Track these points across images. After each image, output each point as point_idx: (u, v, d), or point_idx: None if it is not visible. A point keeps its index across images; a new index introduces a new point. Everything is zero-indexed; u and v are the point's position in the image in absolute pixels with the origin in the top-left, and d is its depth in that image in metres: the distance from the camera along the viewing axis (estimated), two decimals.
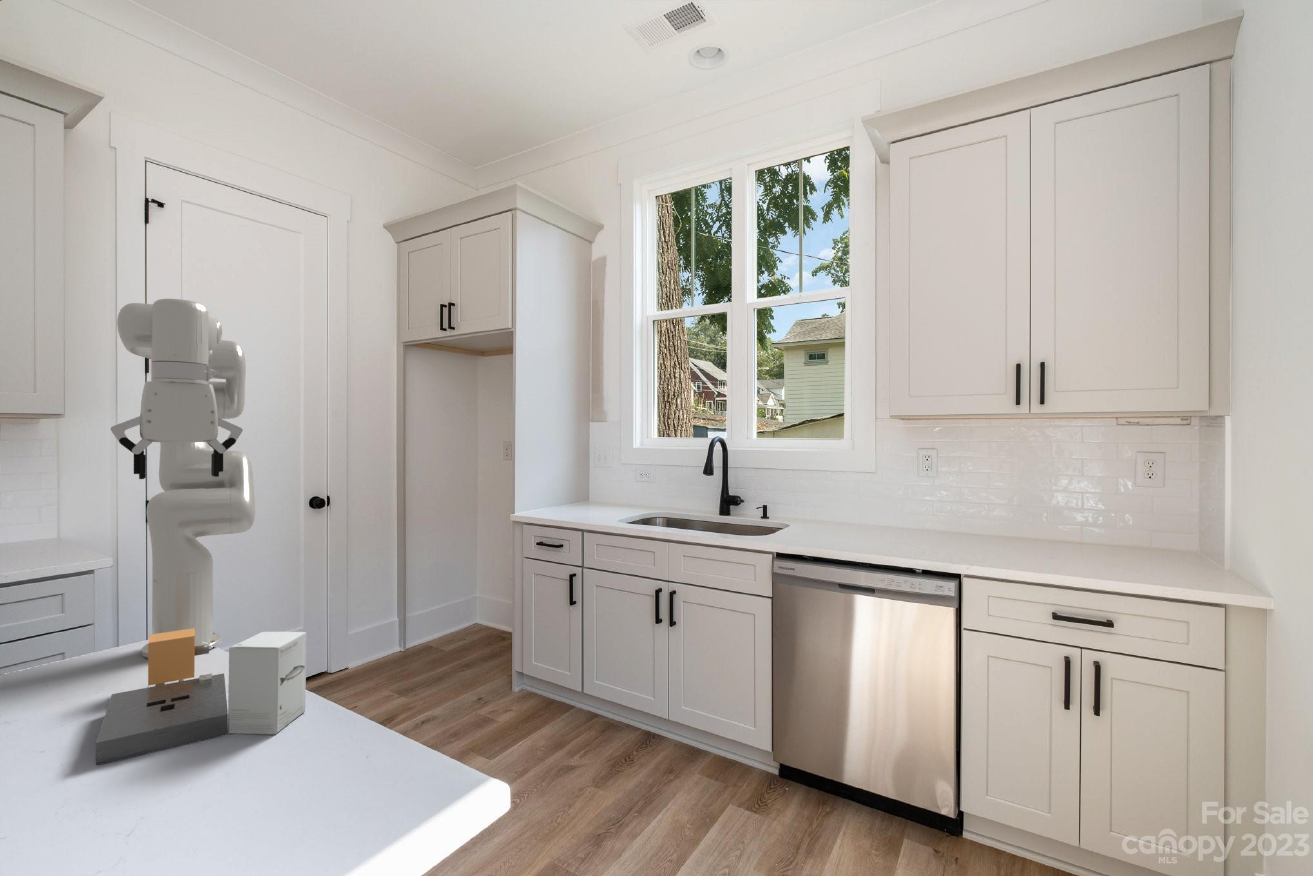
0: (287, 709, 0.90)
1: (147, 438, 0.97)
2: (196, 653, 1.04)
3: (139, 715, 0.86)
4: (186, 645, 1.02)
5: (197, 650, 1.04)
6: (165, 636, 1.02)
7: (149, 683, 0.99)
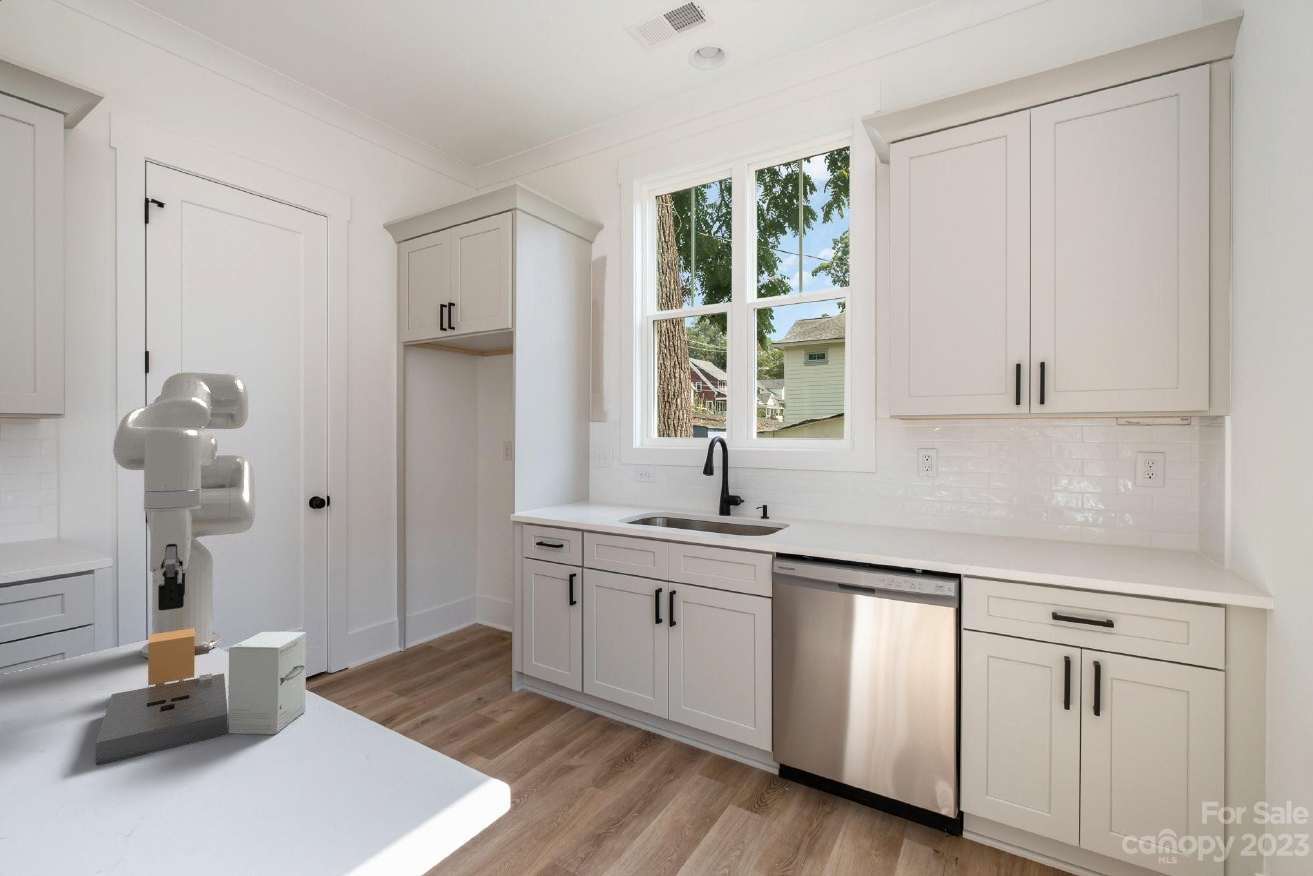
0: (287, 709, 0.90)
1: (185, 566, 1.00)
2: (196, 653, 1.04)
3: (139, 715, 0.86)
4: (186, 645, 1.02)
5: (197, 650, 1.04)
6: (165, 636, 1.02)
7: (149, 683, 0.99)
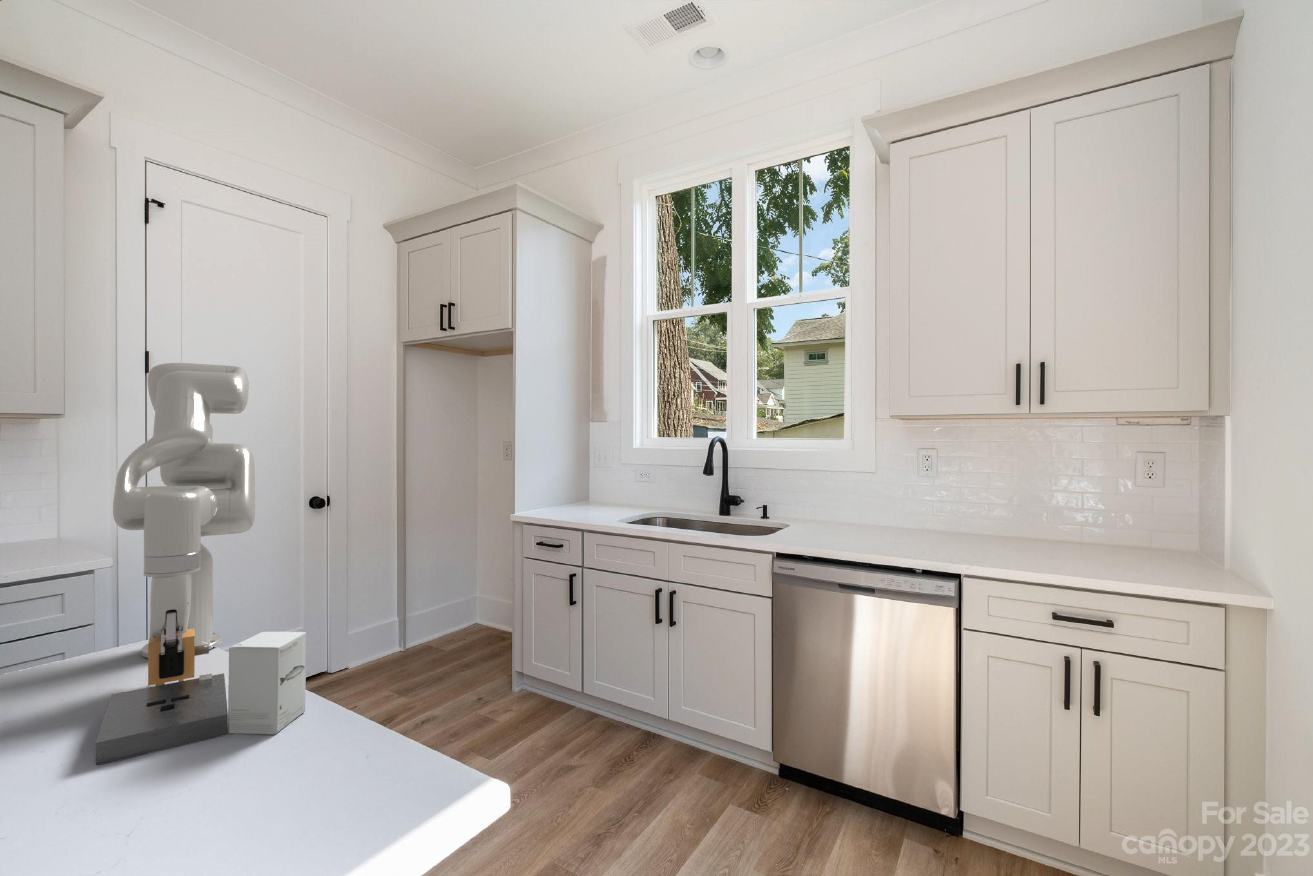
0: (287, 709, 0.90)
1: (185, 630, 1.01)
2: (196, 653, 1.04)
3: (139, 715, 0.86)
4: (186, 645, 1.02)
5: (197, 650, 1.04)
6: None
7: (149, 683, 0.99)
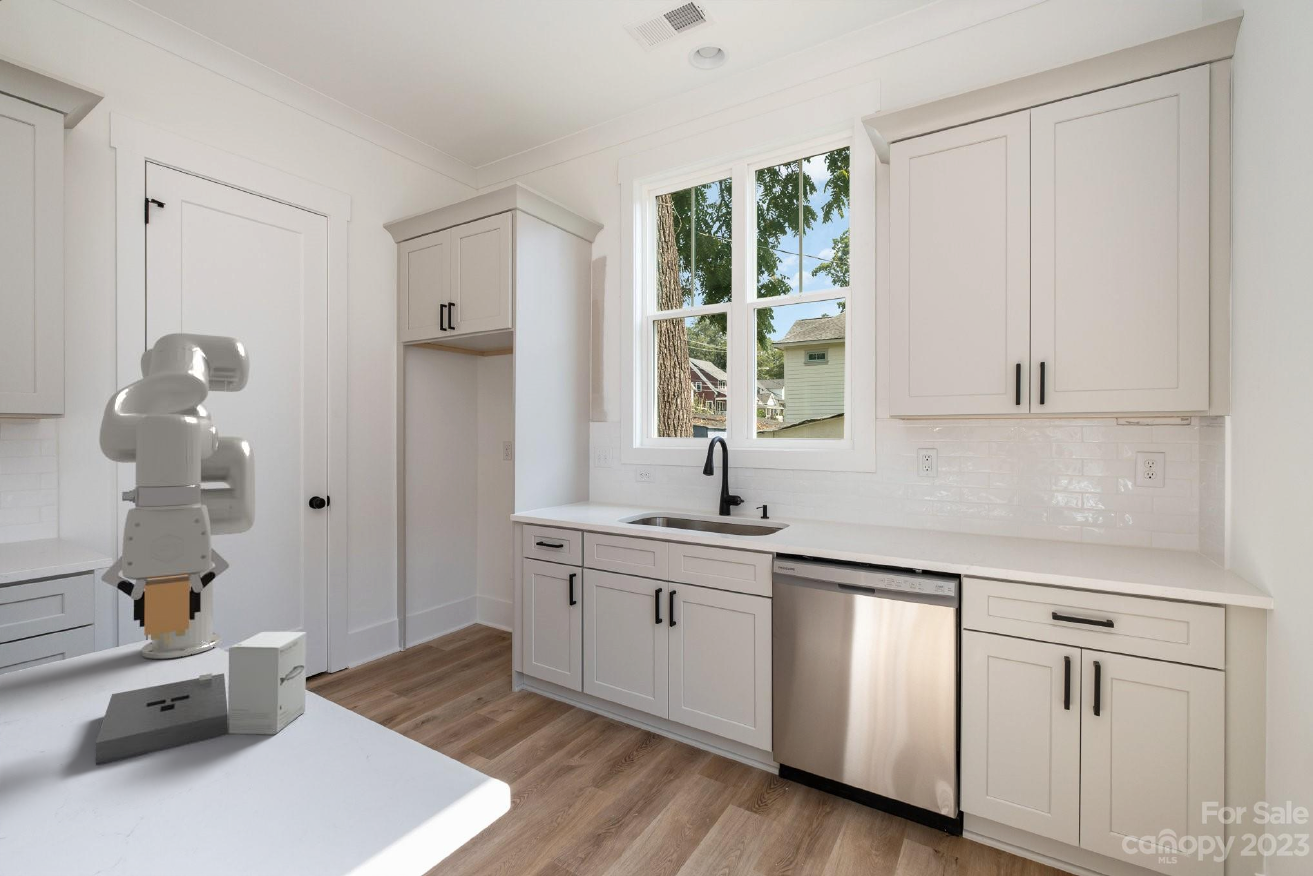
0: (287, 709, 0.90)
1: None
2: None
3: (139, 715, 0.86)
4: None
5: None
6: (169, 580, 0.89)
7: None
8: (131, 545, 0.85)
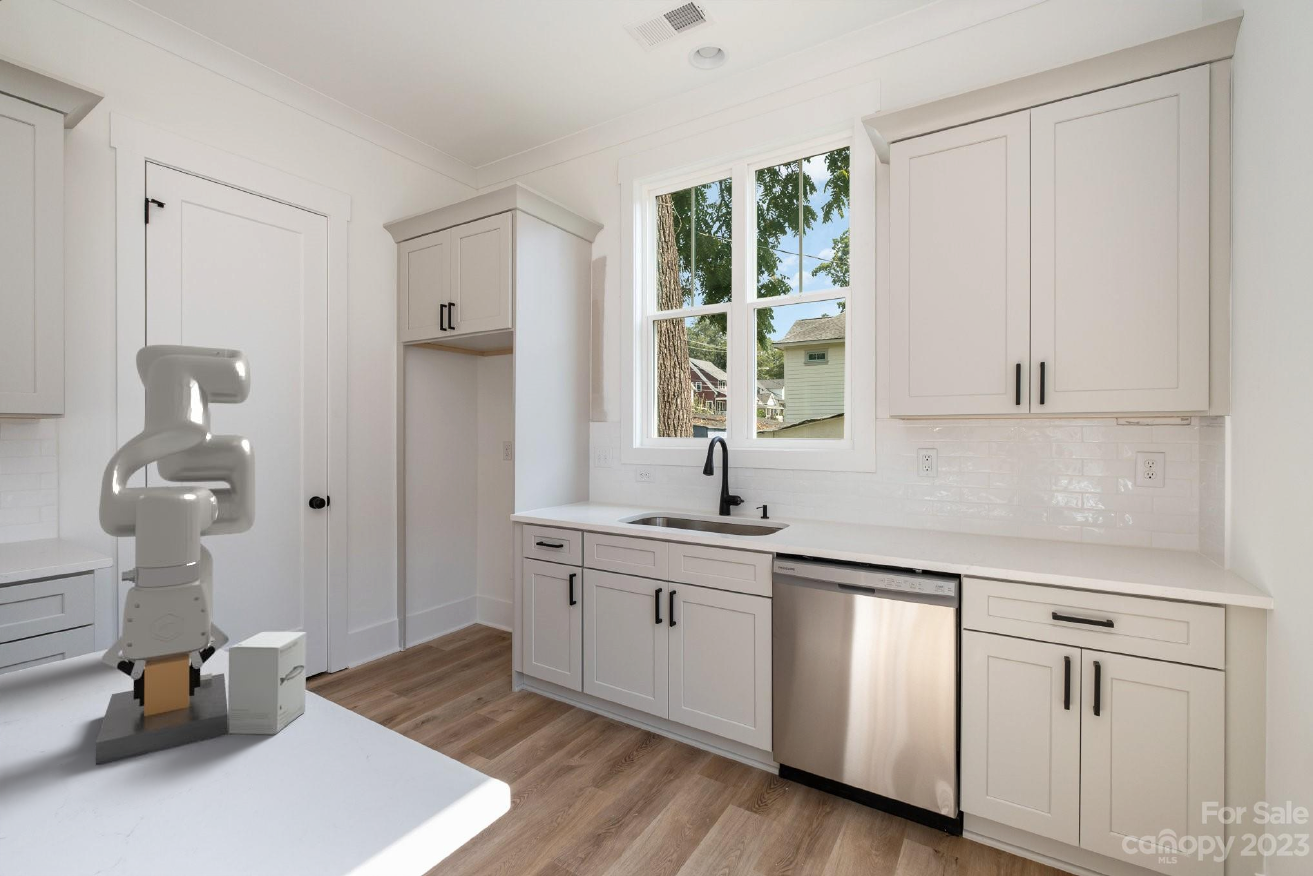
0: (287, 709, 0.90)
1: None
2: None
3: (139, 715, 0.86)
4: None
5: None
6: (169, 658, 0.89)
7: (188, 704, 0.89)
8: (131, 627, 0.85)
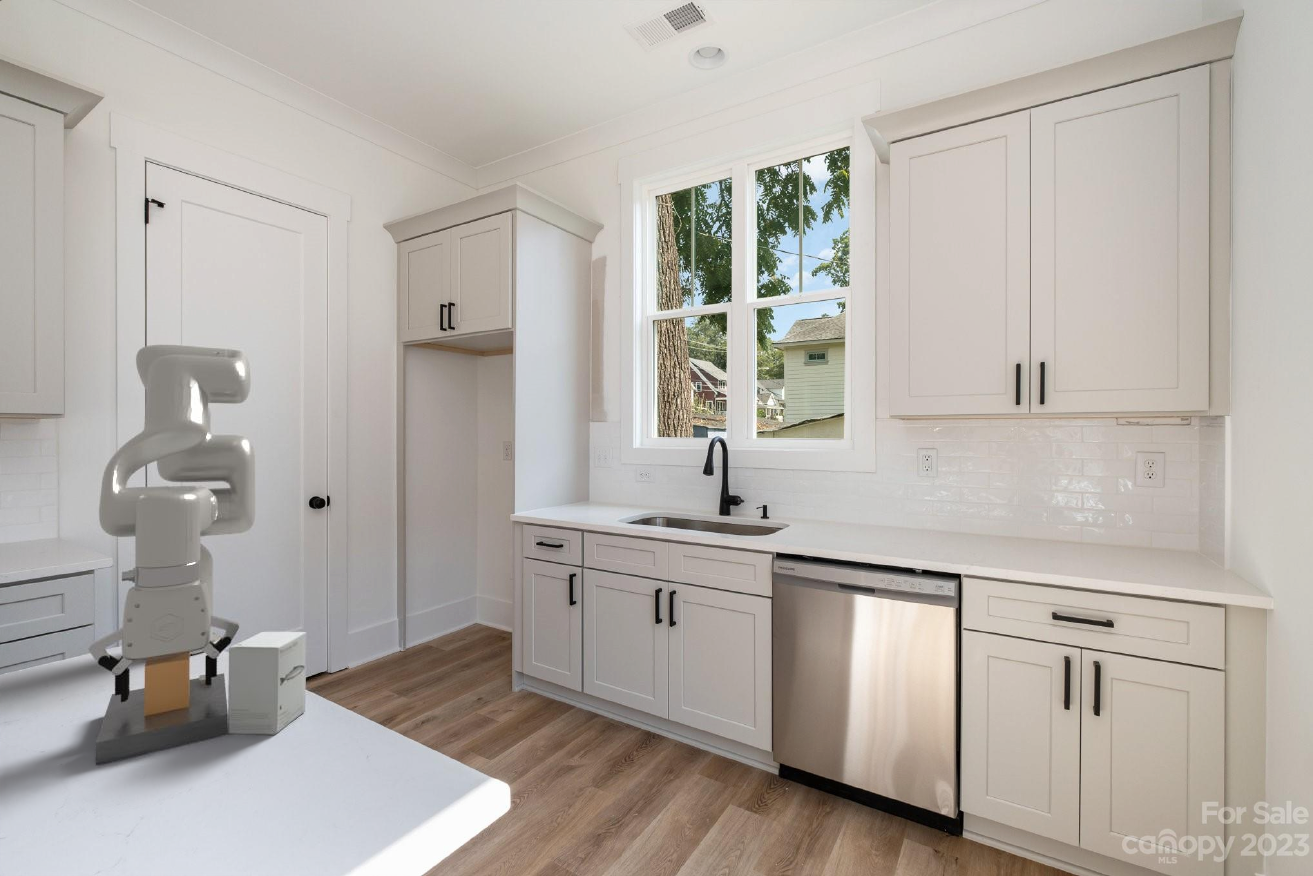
0: (287, 709, 0.90)
1: None
2: None
3: (139, 715, 0.86)
4: None
5: None
6: (169, 658, 0.89)
7: (188, 704, 0.89)
8: (131, 626, 0.86)
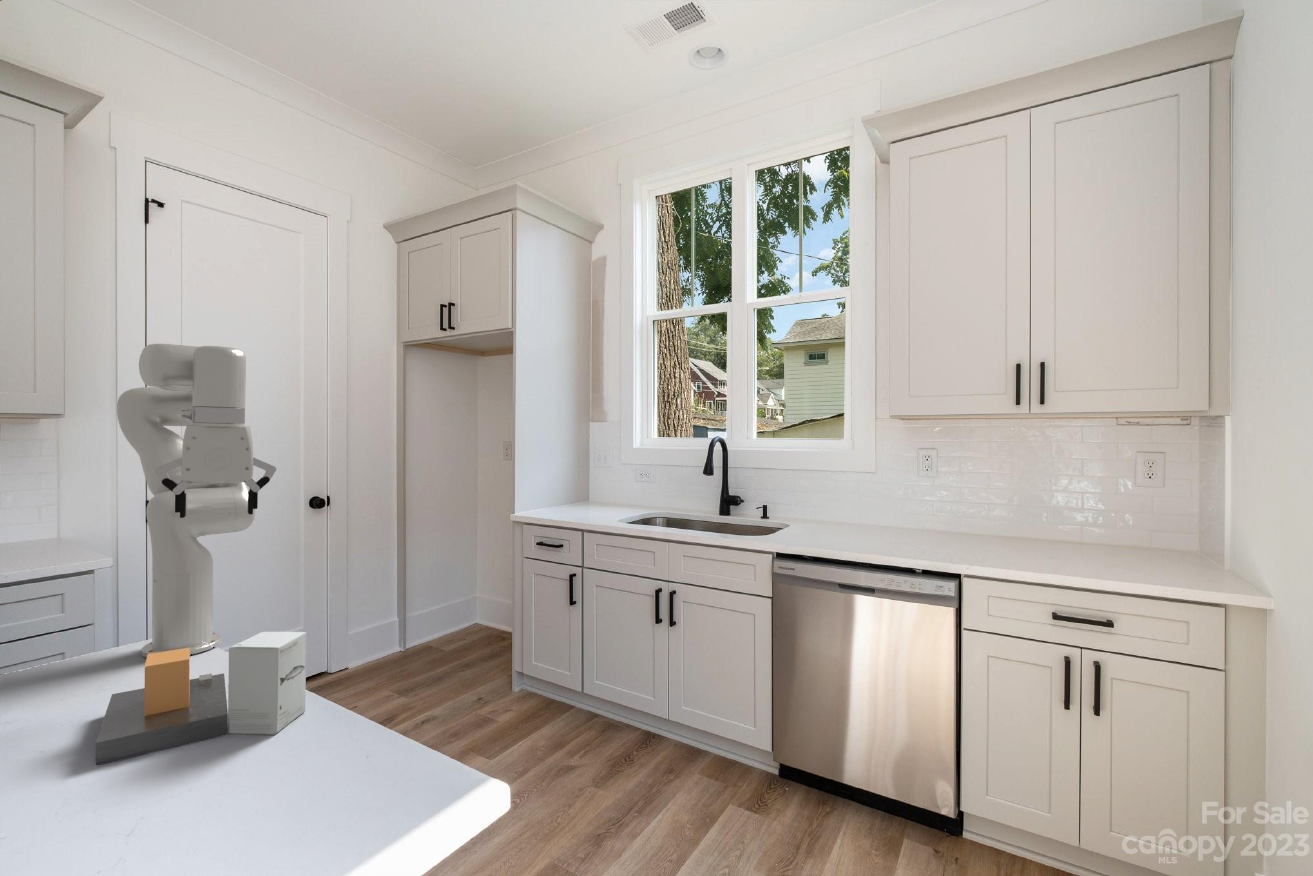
0: (287, 709, 0.90)
1: None
2: None
3: (139, 715, 0.86)
4: None
5: None
6: (169, 658, 0.89)
7: (188, 704, 0.89)
8: (189, 454, 1.02)
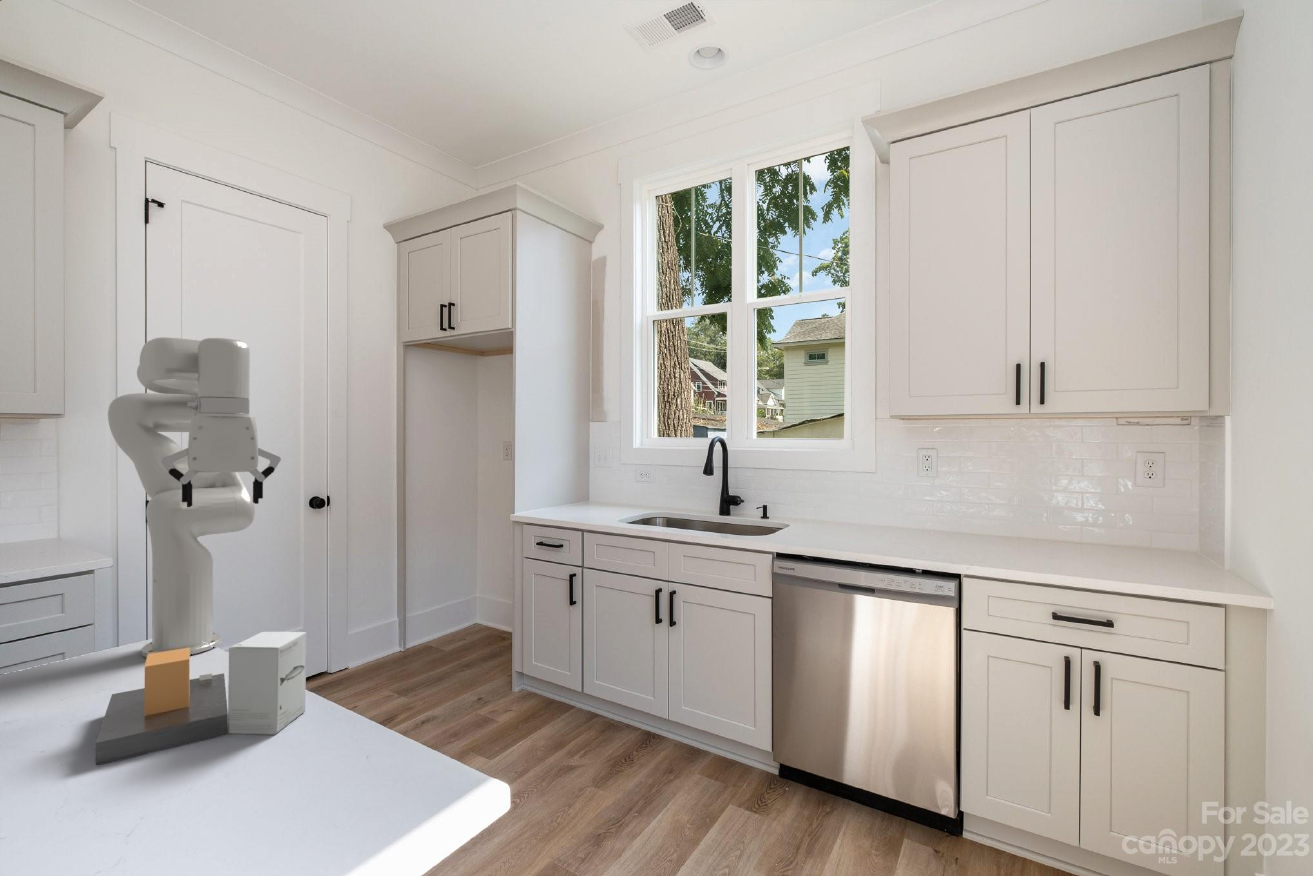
0: (287, 709, 0.90)
1: None
2: None
3: (139, 715, 0.86)
4: None
5: None
6: (169, 658, 0.89)
7: (188, 704, 0.89)
8: (195, 444, 1.04)
